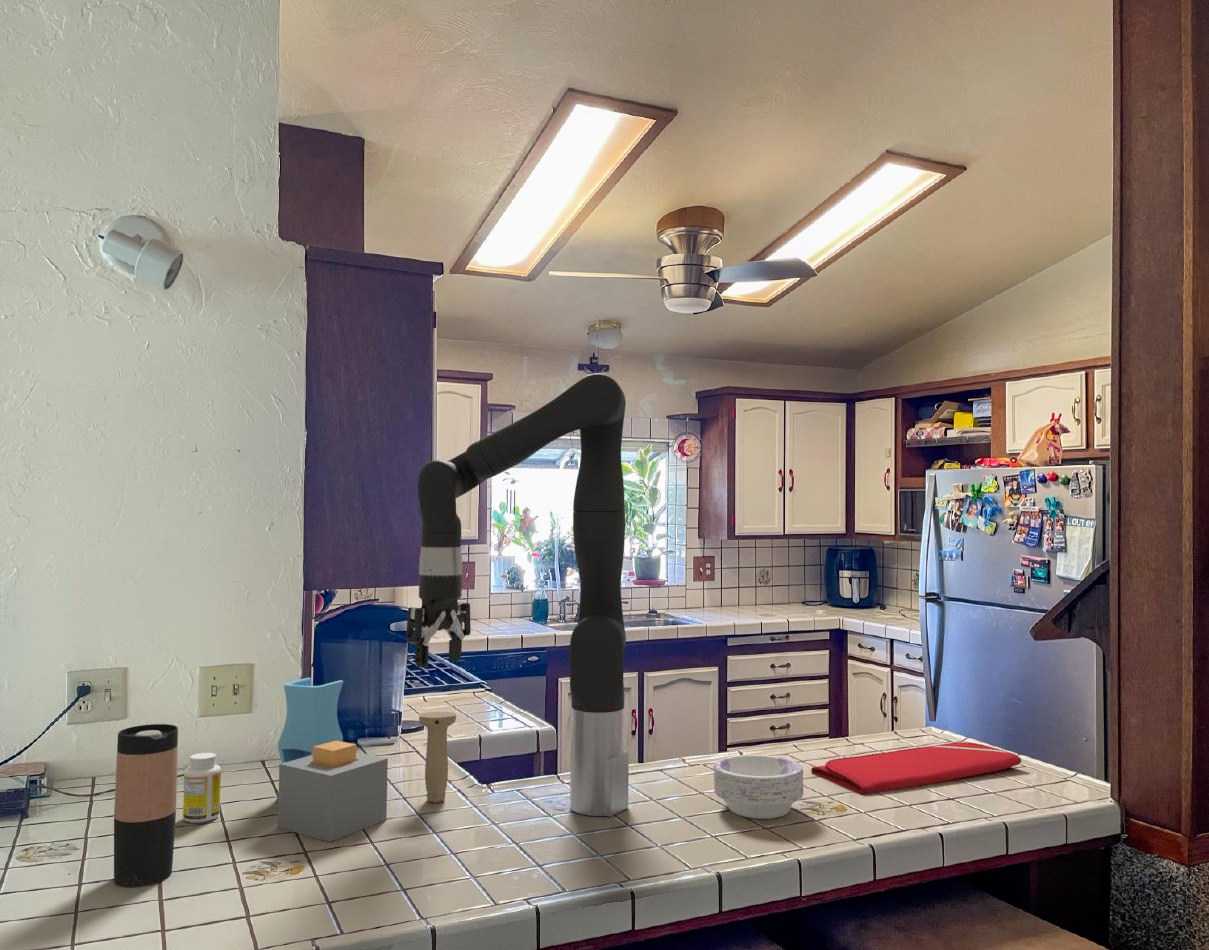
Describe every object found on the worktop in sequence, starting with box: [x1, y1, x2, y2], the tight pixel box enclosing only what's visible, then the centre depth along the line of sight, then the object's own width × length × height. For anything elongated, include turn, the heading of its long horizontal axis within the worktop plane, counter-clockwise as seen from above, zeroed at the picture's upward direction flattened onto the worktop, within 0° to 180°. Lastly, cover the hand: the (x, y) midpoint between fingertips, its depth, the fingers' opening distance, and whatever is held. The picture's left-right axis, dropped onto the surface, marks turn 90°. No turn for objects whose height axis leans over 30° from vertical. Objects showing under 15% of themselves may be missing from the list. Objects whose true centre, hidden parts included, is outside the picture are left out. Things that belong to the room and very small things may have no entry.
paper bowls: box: [713, 754, 804, 820], centre depth 153 cm, size 15×15×8 cm
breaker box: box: [277, 751, 389, 842], centre depth 145 cm, size 12×12×10 cm
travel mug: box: [113, 723, 179, 888], centre depth 123 cm, size 8×8×20 cm
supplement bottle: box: [182, 752, 222, 824], centre depth 147 cm, size 6×6×10 cm
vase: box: [276, 677, 344, 800], centre depth 160 cm, size 8×8×20 cm
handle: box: [418, 711, 457, 804], centre depth 157 cm, size 5×6×15 cm
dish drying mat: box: [810, 741, 1022, 795], centre depth 178 cm, size 16×41×4 cm, turn 114°
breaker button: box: [313, 741, 357, 768], centre depth 145 cm, size 5×5×4 cm
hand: (438, 663), depth 158 cm, fingers open, 8 cm apart
